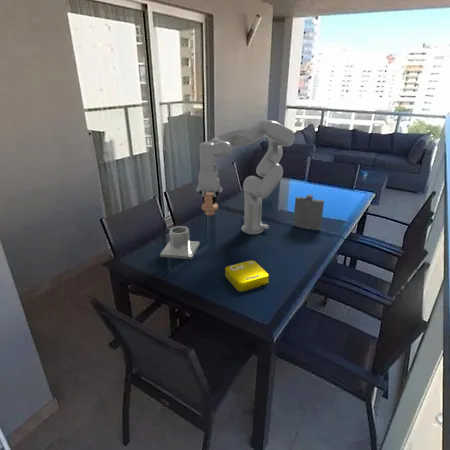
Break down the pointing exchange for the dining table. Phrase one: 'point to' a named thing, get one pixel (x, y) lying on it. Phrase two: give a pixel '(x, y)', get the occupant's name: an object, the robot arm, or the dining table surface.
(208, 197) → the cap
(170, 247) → the hex socket plate
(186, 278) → the dining table surface
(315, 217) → the hip flask
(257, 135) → the robot arm
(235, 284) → the element tile
